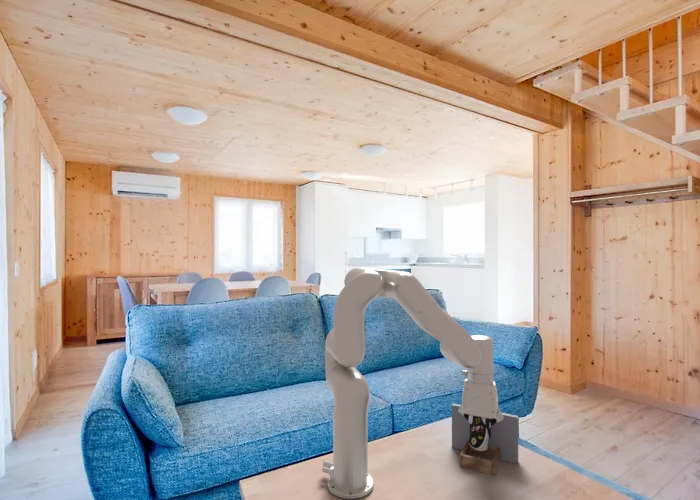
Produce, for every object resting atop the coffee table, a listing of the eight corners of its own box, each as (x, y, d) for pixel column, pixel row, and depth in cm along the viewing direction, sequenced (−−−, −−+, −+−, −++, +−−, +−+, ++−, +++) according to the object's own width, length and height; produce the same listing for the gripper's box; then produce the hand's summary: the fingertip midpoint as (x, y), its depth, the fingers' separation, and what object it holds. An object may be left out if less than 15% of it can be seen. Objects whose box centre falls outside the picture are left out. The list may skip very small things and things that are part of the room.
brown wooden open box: (459, 466, 119) (459, 454, 119) (467, 451, 128) (467, 440, 128) (494, 475, 114) (494, 463, 114) (500, 459, 123) (500, 448, 123)
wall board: (451, 447, 130) (451, 405, 130) (453, 445, 132) (453, 403, 131) (517, 463, 120) (517, 417, 120) (518, 461, 122) (518, 415, 122)
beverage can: (489, 454, 118) (495, 415, 117) (470, 450, 119) (475, 412, 118) (485, 443, 124) (490, 406, 123) (466, 440, 125) (472, 403, 124)
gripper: (449, 376, 121) (450, 436, 122) (507, 385, 113) (507, 449, 114) (456, 369, 128) (456, 426, 128) (510, 377, 120) (511, 438, 120)
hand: (480, 436), depth 121 cm, fingers closed on beverage can, 3 cm apart
